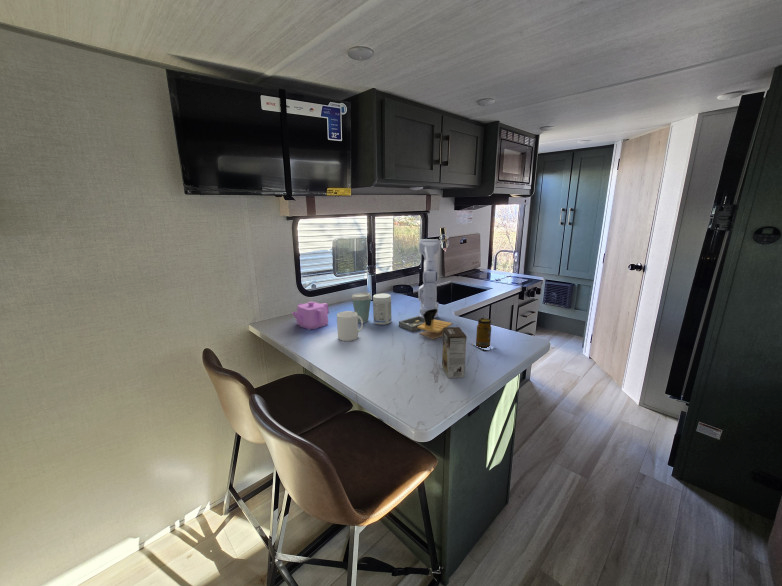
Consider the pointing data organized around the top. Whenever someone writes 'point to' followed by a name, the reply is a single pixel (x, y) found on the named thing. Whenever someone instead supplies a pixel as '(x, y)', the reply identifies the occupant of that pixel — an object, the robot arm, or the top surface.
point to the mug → (348, 325)
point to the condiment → (483, 333)
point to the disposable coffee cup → (362, 305)
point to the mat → (432, 334)
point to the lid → (435, 326)
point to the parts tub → (412, 323)
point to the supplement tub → (382, 309)
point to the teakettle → (312, 315)
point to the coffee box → (454, 352)
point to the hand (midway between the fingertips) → (429, 324)
